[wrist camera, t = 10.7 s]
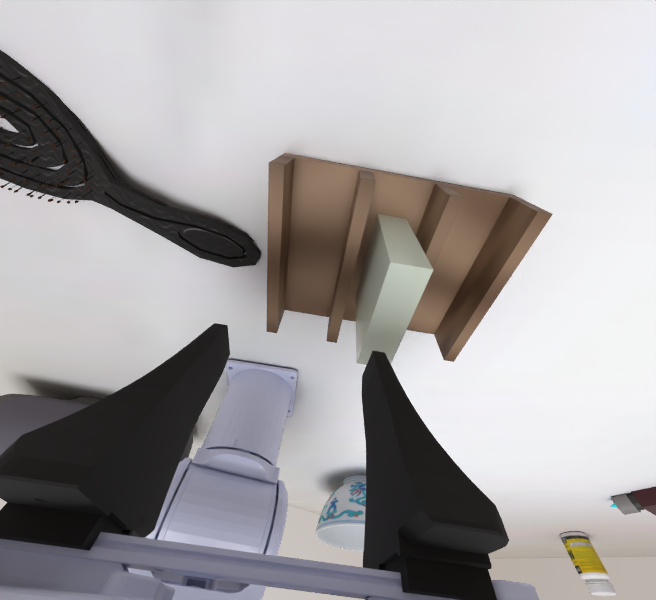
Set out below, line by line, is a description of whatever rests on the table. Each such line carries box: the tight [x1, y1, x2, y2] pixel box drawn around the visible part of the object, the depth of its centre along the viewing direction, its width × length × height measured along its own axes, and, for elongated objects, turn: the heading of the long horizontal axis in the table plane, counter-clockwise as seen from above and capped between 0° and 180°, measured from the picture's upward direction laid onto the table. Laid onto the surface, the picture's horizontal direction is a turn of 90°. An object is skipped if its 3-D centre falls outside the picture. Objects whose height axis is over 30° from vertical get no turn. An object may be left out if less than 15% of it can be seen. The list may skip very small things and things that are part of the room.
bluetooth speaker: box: [0, 394, 193, 462], centre depth 33 cm, size 23×9×10 cm, turn 75°
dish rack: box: [267, 153, 552, 362], centre depth 19 cm, size 12×15×4 cm
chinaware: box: [316, 475, 366, 551], centre depth 43 cm, size 15×15×8 cm
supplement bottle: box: [560, 532, 617, 596], centre depth 51 cm, size 5×5×8 cm
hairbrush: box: [0, 50, 261, 267], centre depth 17 cm, size 8×4×25 cm
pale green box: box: [355, 214, 433, 365], centre depth 16 cm, size 7×2×7 cm, turn 171°
